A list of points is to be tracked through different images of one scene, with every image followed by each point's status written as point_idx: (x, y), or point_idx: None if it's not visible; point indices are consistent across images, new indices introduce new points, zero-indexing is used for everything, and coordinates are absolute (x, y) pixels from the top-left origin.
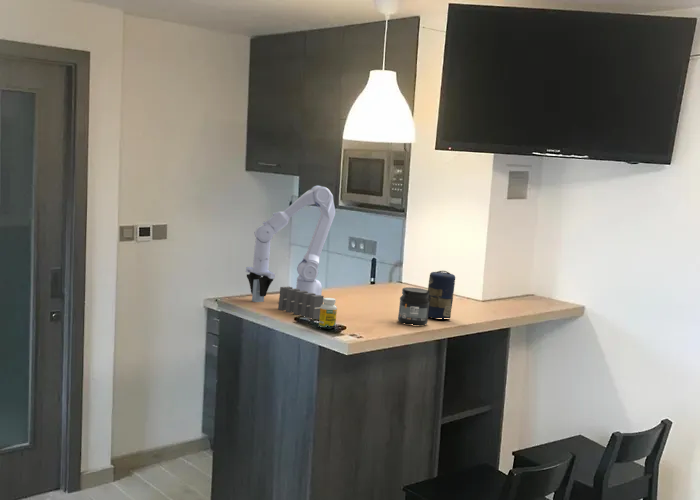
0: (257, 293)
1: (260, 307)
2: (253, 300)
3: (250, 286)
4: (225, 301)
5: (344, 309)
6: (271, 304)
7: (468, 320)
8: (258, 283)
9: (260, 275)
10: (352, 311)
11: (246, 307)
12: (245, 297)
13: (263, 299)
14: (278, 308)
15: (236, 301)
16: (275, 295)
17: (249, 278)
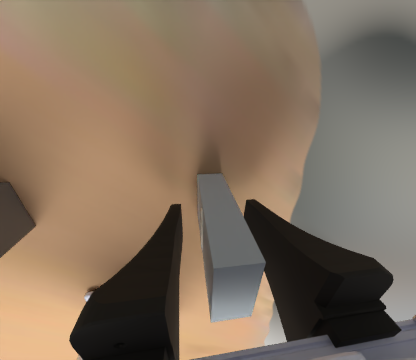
0: (201, 205)
1: (60, 117)
2: (211, 175)
3: (276, 217)
4: (276, 4)
5: (39, 351)
6: (136, 213)
7: None
8: (208, 256)
9: (231, 352)
10: (8, 357)
11: (56, 7)
12: (291, 192)
13: (198, 218)
14: (3, 184)
15: (246, 88)
16: (263, 286)
17: (320, 253)
